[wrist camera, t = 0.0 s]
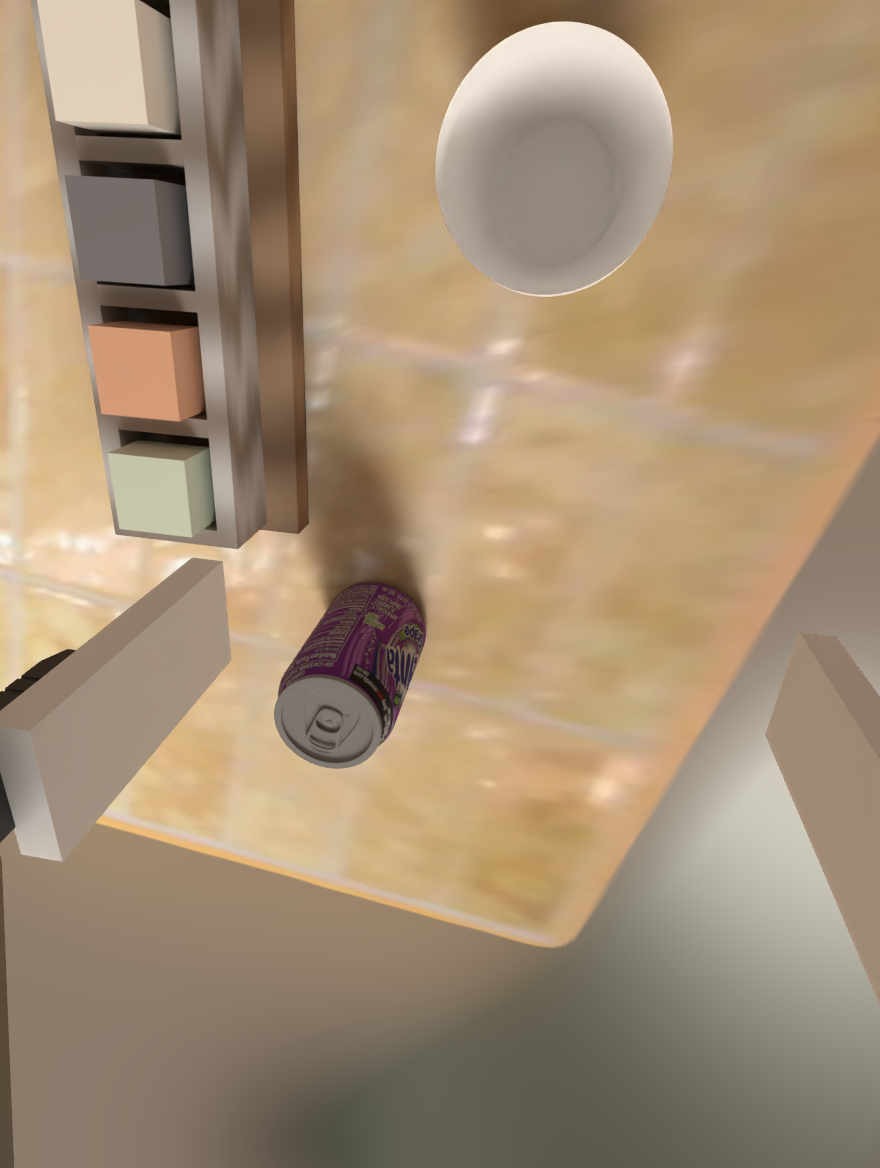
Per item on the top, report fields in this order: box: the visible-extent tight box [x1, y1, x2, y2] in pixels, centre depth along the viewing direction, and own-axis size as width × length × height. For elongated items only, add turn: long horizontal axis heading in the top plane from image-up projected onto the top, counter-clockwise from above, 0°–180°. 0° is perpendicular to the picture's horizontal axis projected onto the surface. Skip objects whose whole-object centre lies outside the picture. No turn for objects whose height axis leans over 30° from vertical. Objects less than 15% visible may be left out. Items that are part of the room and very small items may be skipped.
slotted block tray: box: [31, 0, 309, 549], centre depth 38 cm, size 28×12×6 cm, turn 177°
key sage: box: [108, 440, 216, 537], centre depth 39 cm, size 4×4×3 cm
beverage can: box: [274, 583, 426, 769], centre depth 44 cm, size 7×7×12 cm
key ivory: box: [37, 0, 182, 136], centre depth 31 cm, size 4×4×3 cm
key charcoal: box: [64, 175, 195, 286], centre depth 34 cm, size 4×4×3 cm
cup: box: [436, 21, 673, 297], centre depth 31 cm, size 9×9×12 cm
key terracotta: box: [88, 321, 206, 421], centre depth 36 cm, size 4×4×3 cm
